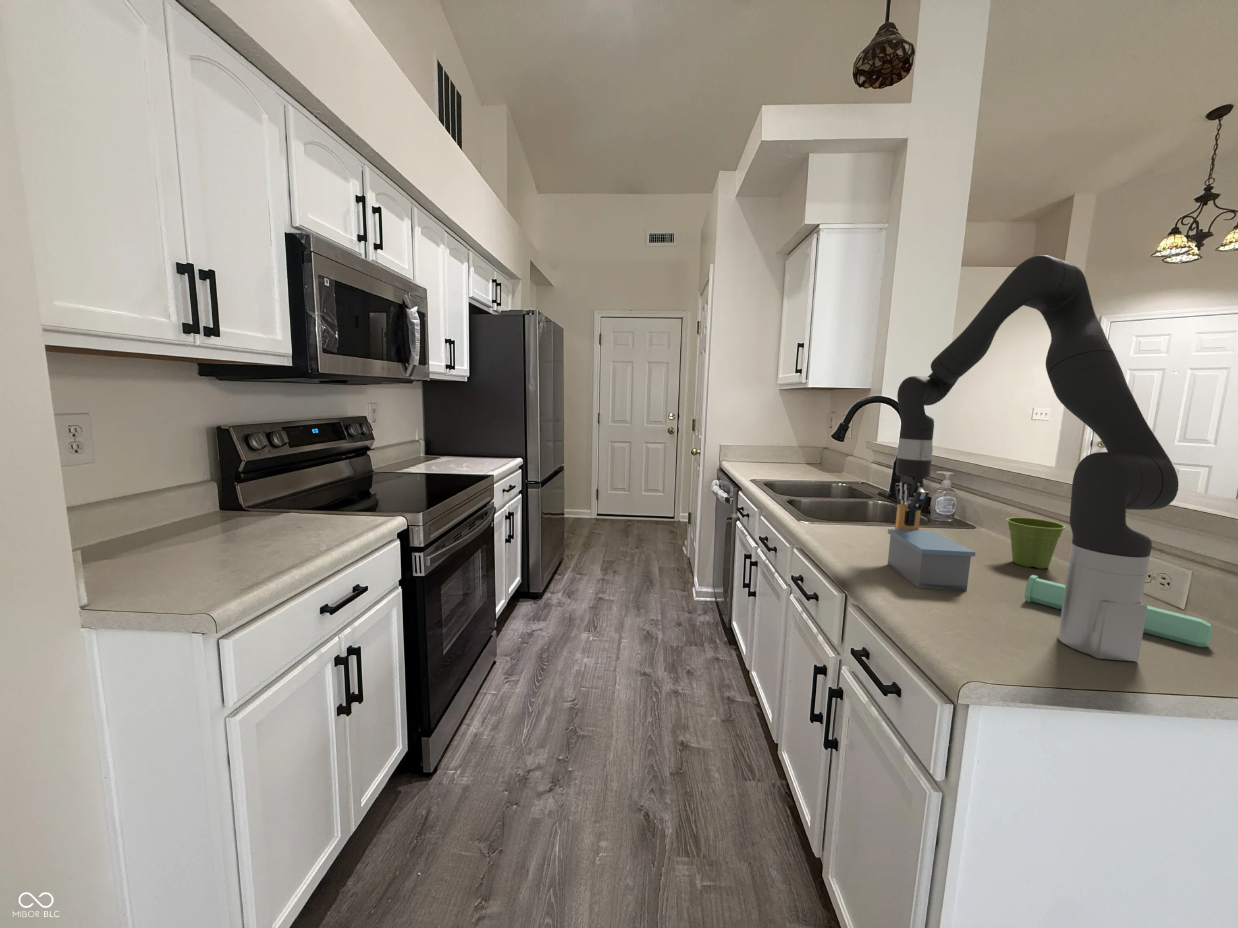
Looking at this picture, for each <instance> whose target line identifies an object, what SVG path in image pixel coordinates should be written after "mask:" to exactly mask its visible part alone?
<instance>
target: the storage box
mask: <svg viewBox="0 0 1238 928" xmlns="http://www.w3.org/2000/svg"><path fill="white" fill-rule="evenodd" d="M889 535H890V534H889ZM888 546H889V547H888V557H887V566H889V565H890V566H891V567H890V566H889V567H890V568H891V569H894V571H896V573H898V574H899V575H901V576H902V577H904V578H905V579H907V580H908V581H909V582H910V583H911V584H913V585H914V586H916V587H917V588H919V589H930V590H931V589H932V590H945V591H961V592H963V591H964V592H965V591H966V592H967V591H968V583H969V574H970V567H971V559H972V558H971V557H972V556H956V555H938V554H921V553H919V552H918V551H916V550H915V549H913V548H911V547H910V546H908V545H906V544H905V543H903V542H901V541H900V540H898V539H897V538H895V537H893V536H892V535H890V536H889V545H888Z"/></svg>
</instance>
